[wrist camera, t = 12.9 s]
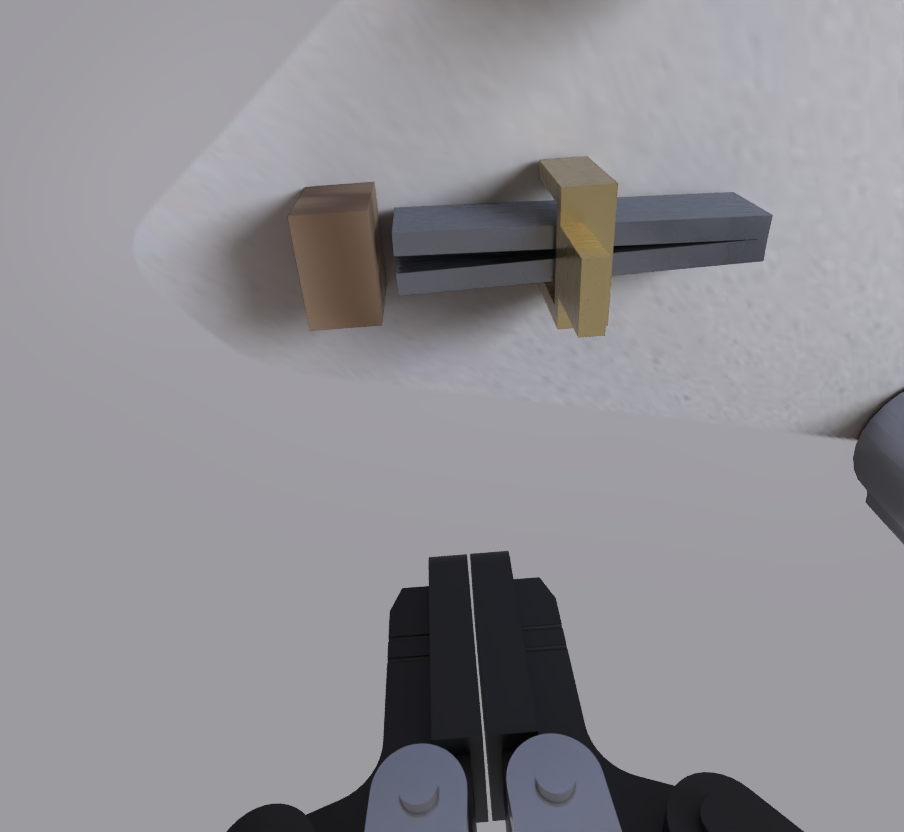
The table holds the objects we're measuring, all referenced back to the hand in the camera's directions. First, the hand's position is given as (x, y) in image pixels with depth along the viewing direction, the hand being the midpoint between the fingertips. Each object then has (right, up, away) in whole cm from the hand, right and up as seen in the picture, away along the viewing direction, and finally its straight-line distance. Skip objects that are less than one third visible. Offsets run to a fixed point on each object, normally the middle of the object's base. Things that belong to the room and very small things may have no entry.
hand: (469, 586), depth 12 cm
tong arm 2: (+5, +13, +18) cm, 23 cm away
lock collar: (+5, +12, +19) cm, 23 cm away
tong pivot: (-5, +12, +19) cm, 23 cm away
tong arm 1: (+5, +12, +19) cm, 23 cm away
